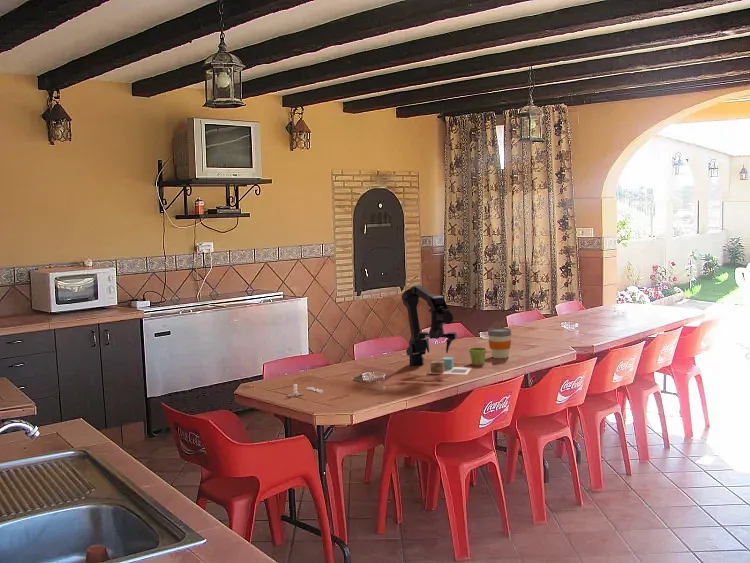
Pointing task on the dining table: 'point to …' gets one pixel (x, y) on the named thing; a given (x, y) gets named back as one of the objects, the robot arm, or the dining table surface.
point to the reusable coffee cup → (499, 342)
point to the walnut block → (437, 366)
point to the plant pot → (477, 355)
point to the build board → (456, 370)
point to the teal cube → (448, 362)
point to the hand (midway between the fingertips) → (437, 352)
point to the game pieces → (358, 378)
